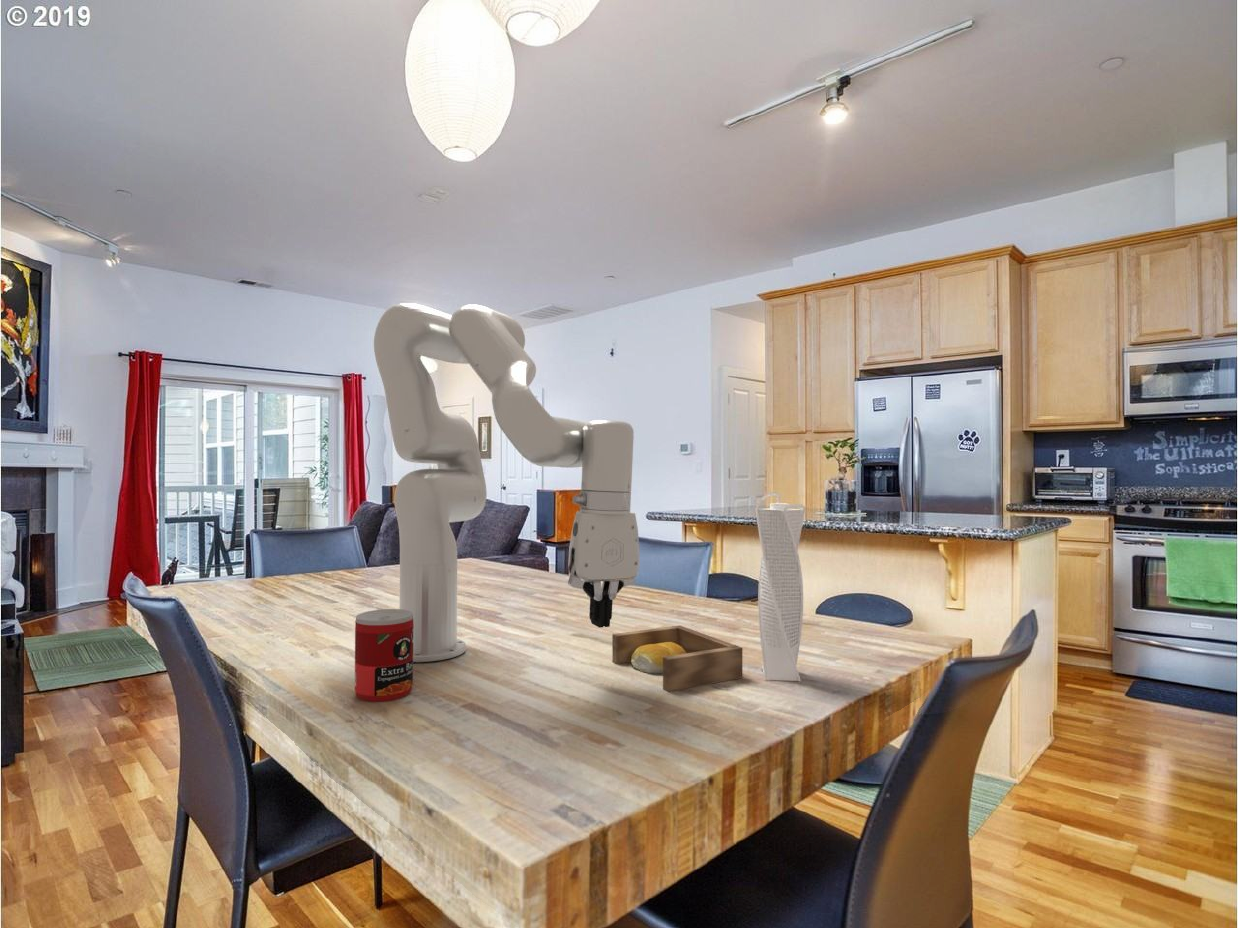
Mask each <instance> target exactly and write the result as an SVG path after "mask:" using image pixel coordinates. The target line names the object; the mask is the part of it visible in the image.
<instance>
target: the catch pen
mask: <svg viewBox="0 0 1238 928" xmlns="http://www.w3.org/2000/svg"><path fill="white" fill-rule="evenodd" d="M611 639H612V642H611V643H612V654H611V655H612V660H611V661H612V663H614V664H624V663H631V660H632V655H633V653H634V652H635V650H636V649H637V648H639V647H640V646H644V645H648V644H658V643H664V642H672V643H675V644H678V645H679V646H681V647H682V648H683V649H684V650H685V651H686V654H680V655H674V656H667V657H663V673H662V689H663V690H664V691H666V692H672V691H677V690H678V691H679V690H683V689H690V688H694V687H698V686H705V685H710V684H715V683H721V682H726V681H732V680H736V679H737V680H738V679H742V678H743V647H741V646H738V645H735V644H733V643H730V642H727V641H725V640H722V639H719V638H716V637H713V636H710V635H708V634H705V633H703V632H699V631H696V630H693V629H691V628H688V627H686V626H684V625H683V626H682V625H673V626H667V627H666V626H665V627H658V628H657V627H656V628H649V629H643V630H633V631H628V632H620V633H619V632H618V633H612V638H611Z"/></svg>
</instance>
